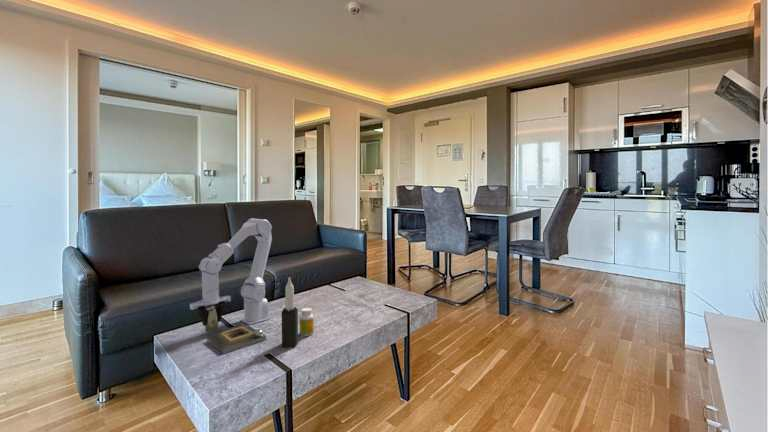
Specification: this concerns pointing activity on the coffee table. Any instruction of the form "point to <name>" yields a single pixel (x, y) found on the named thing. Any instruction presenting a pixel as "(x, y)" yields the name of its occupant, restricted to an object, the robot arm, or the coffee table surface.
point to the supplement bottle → (306, 322)
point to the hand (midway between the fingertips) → (211, 323)
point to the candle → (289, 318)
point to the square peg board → (236, 339)
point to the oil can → (212, 319)
